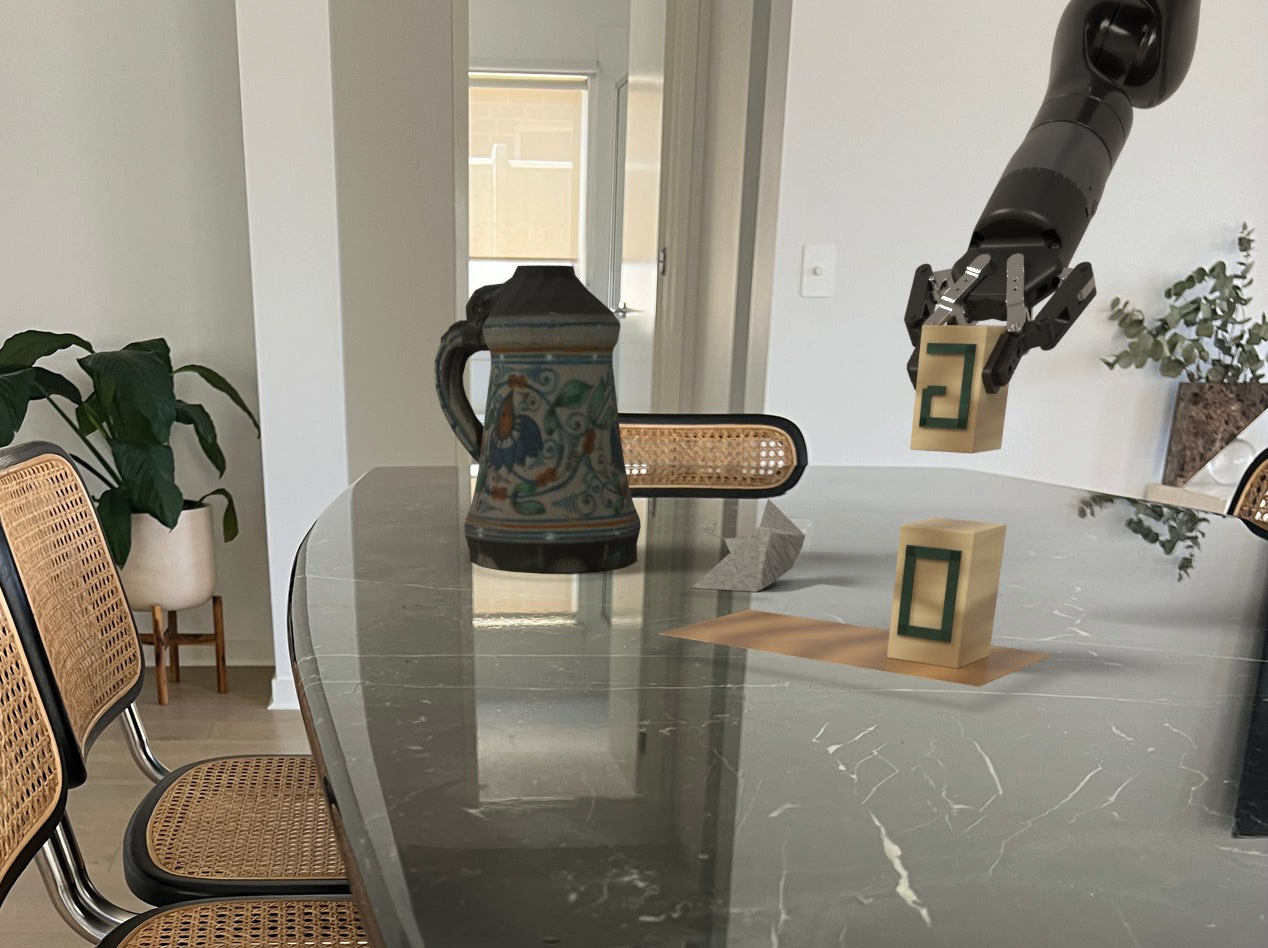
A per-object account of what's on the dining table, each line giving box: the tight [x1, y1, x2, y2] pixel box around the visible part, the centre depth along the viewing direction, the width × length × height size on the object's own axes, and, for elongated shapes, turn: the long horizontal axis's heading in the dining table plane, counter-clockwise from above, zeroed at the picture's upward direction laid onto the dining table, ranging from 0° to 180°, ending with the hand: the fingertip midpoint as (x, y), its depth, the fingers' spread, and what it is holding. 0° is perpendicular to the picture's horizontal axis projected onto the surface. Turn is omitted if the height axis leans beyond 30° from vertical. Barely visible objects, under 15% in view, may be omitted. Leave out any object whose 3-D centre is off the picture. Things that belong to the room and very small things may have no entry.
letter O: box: [887, 517, 1008, 669], centre depth 95 cm, size 5×5×8 cm
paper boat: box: [691, 498, 806, 593], centre depth 126 cm, size 12×6×9 cm
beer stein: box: [433, 264, 641, 574], centre depth 133 cm, size 16×19×25 cm
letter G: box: [909, 324, 1010, 454], centre depth 107 cm, size 5×5×8 cm
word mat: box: [658, 609, 1053, 688], centre depth 101 cm, size 24×12×1 cm, turn 51°
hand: (952, 383), depth 106 cm, fingers closed on letter G, 5 cm apart
